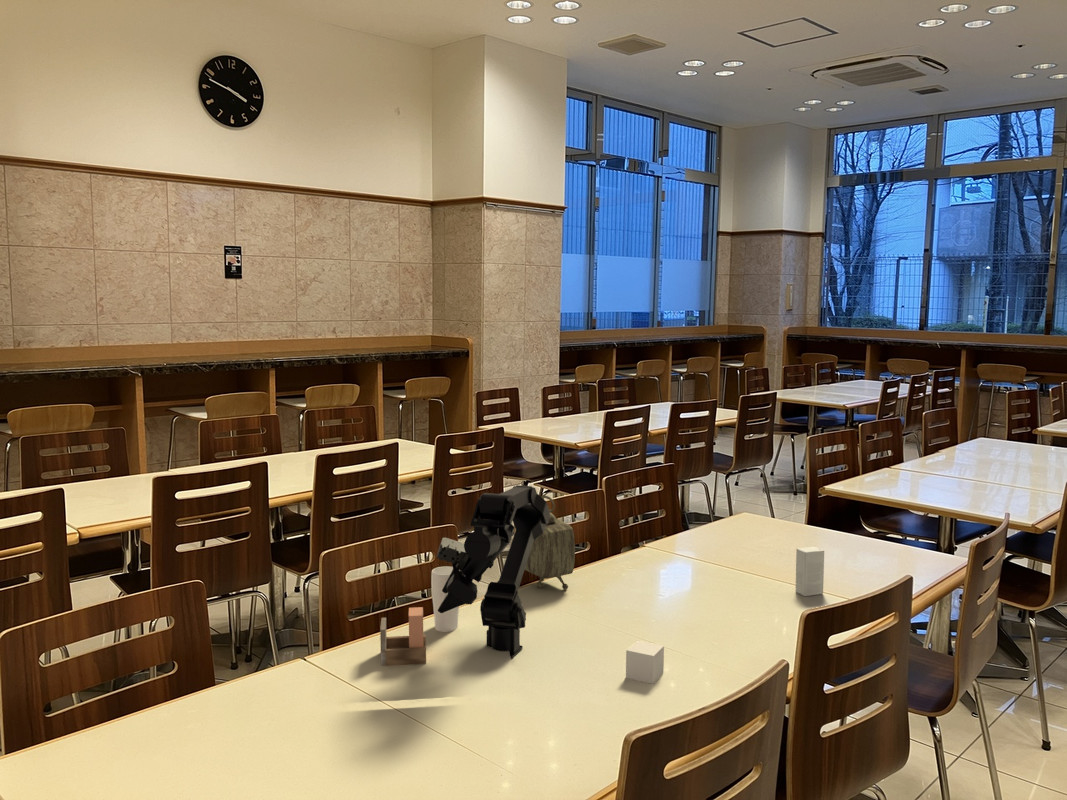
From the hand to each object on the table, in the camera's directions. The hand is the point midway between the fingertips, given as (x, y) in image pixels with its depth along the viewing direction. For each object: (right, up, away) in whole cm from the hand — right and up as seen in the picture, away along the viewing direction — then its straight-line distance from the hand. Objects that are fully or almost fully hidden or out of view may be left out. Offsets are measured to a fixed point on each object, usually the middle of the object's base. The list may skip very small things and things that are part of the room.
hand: (441, 601), depth 189 cm
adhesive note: (+43, -14, -7) cm, 46 cm away
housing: (-7, -13, -1) cm, 15 cm away
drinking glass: (-1, -11, +16) cm, 20 cm away
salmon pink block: (-5, -12, -1) cm, 13 cm away
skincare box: (+93, -8, +45) cm, 104 cm away
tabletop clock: (+23, -7, +50) cm, 55 cm away
